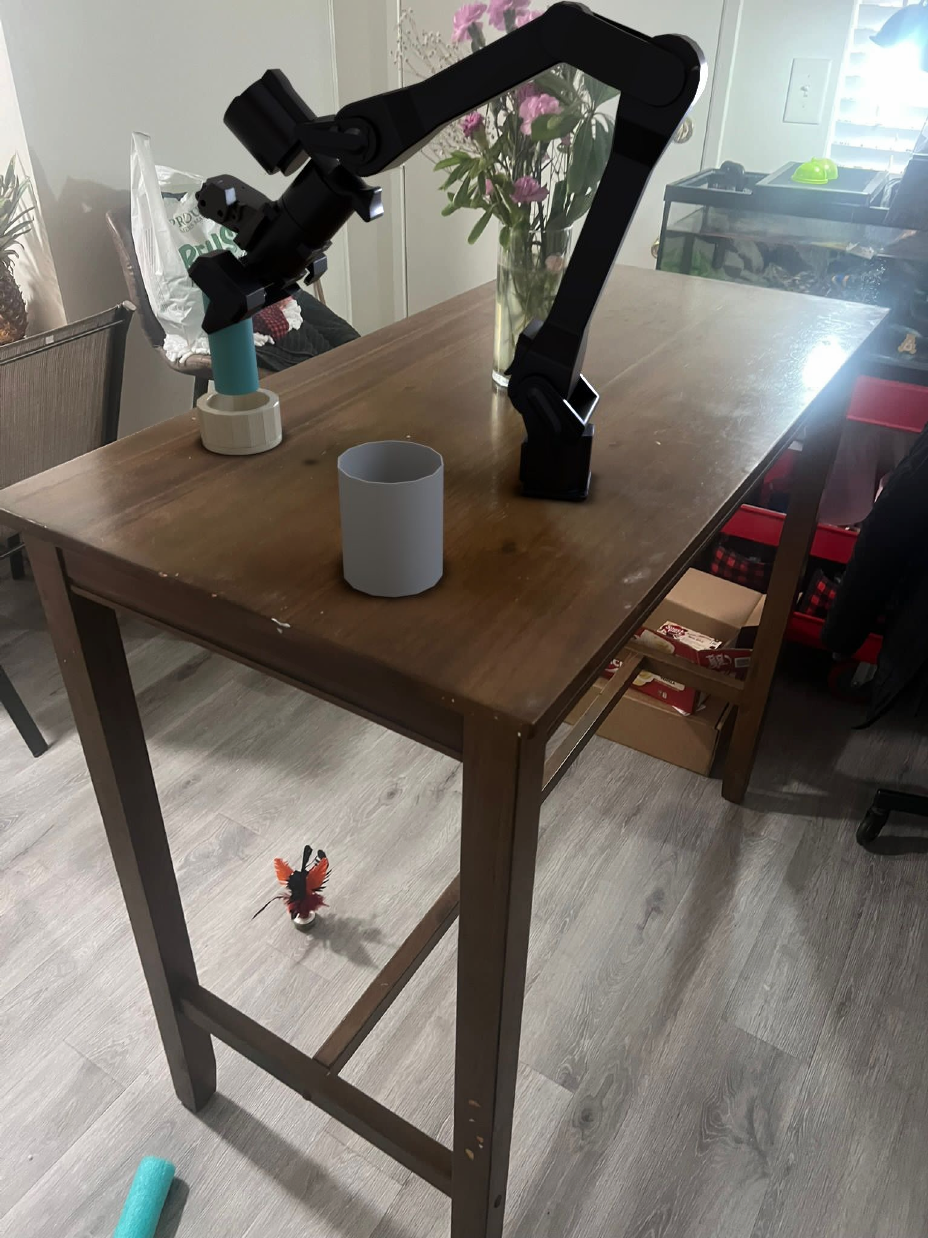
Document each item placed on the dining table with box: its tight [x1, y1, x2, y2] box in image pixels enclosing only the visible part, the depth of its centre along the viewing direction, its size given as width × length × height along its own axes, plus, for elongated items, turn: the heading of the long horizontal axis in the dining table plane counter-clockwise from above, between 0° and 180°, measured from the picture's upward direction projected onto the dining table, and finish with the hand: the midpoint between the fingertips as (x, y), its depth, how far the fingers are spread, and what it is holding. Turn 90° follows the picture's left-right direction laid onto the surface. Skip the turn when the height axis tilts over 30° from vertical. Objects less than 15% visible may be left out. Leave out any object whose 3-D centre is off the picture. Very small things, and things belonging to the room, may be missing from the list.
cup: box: [337, 440, 444, 598], centre depth 74 cm, size 8×8×10 cm
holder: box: [196, 387, 283, 456], centre depth 98 cm, size 9×9×4 cm
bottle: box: [201, 291, 260, 396], centre depth 93 cm, size 5×5×14 cm
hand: (217, 324), depth 93 cm, fingers closed on bottle, 4 cm apart
